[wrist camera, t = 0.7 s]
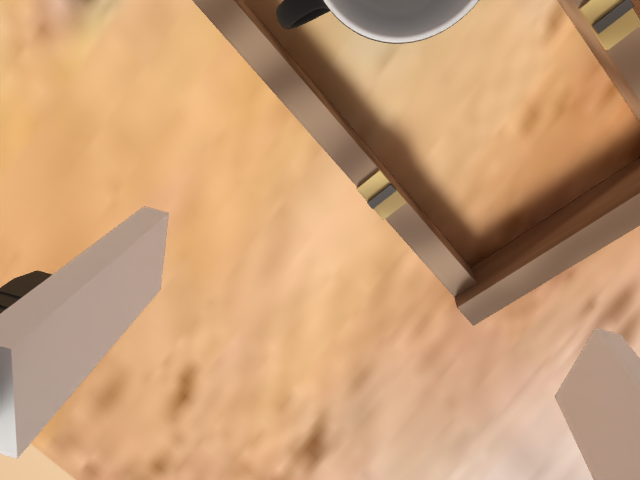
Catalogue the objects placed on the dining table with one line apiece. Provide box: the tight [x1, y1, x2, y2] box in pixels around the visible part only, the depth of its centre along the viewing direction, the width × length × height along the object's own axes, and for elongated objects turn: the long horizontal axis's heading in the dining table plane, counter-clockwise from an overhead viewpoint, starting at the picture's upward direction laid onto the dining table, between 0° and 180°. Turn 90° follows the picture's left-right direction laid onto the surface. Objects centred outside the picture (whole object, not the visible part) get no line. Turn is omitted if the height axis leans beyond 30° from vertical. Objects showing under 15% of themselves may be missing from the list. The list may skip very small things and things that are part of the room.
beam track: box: [193, 0, 640, 326], centre depth 31 cm, size 30×19×4 cm, turn 42°
